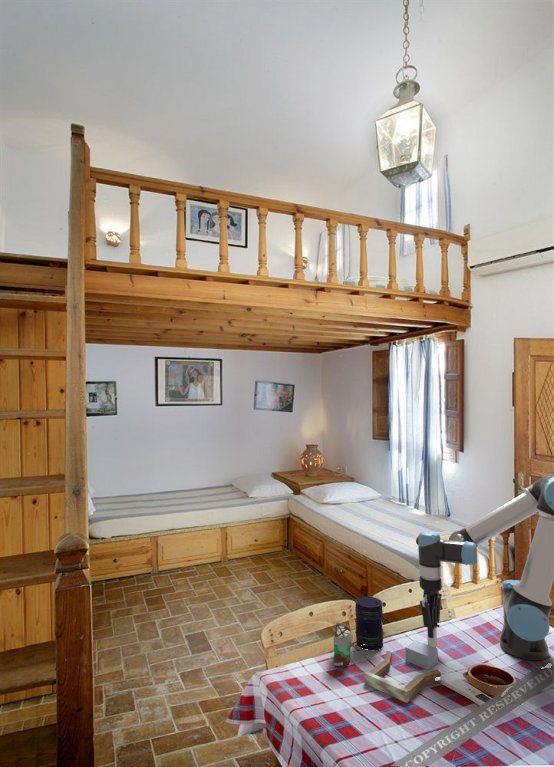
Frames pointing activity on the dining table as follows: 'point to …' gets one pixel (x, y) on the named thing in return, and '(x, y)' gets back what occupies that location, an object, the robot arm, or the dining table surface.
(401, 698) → the brown angular open frame
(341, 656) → the food container
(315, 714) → the dining table surface
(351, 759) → the dining table surface
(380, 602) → the storage jar
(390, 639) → the dining table surface
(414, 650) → the grey rectangular block
